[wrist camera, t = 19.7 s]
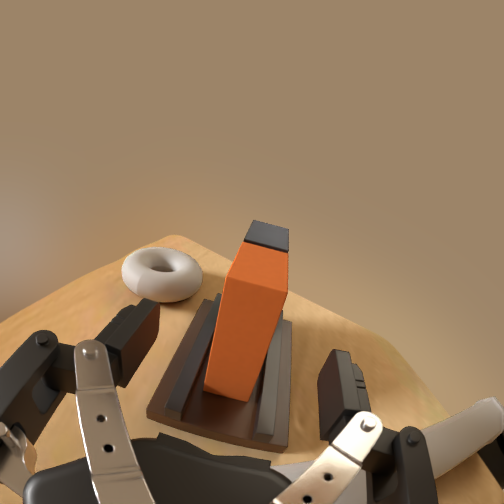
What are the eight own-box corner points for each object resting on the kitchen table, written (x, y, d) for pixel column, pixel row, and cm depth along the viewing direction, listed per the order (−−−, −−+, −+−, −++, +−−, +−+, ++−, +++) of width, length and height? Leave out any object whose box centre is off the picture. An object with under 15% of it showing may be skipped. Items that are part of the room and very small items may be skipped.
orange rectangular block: (256, 353, 25) (288, 253, 21) (248, 402, 19) (288, 292, 15) (219, 343, 25) (242, 241, 21) (202, 390, 19) (225, 276, 16)
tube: (253, 554, 7) (512, 431, 13) (242, 460, 11) (497, 387, 17) (230, 537, 10) (473, 451, 16) (223, 467, 14) (461, 411, 20)
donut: (205, 275, 39) (137, 259, 38) (210, 252, 37) (139, 236, 36) (192, 318, 29) (107, 295, 28) (197, 291, 28) (107, 267, 27)
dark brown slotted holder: (288, 329, 31) (321, 237, 27) (282, 453, 16) (353, 342, 12) (202, 307, 31) (220, 211, 27) (146, 417, 17) (144, 287, 12)
